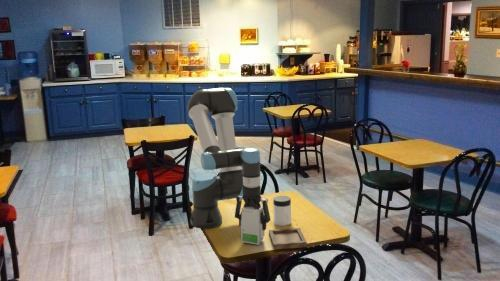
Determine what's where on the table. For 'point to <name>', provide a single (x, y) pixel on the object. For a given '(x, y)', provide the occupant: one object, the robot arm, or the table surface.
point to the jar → (282, 210)
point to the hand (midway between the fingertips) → (252, 234)
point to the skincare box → (251, 225)
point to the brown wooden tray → (287, 238)
